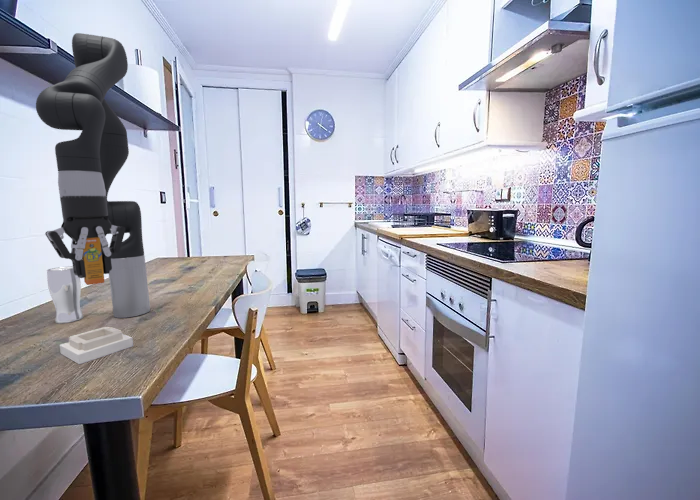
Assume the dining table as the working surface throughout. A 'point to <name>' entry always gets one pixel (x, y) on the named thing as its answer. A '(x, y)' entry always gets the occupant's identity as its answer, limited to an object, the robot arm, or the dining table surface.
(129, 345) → the display stand
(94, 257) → the supplement box
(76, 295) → the beer glass
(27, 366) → the dining table surface
